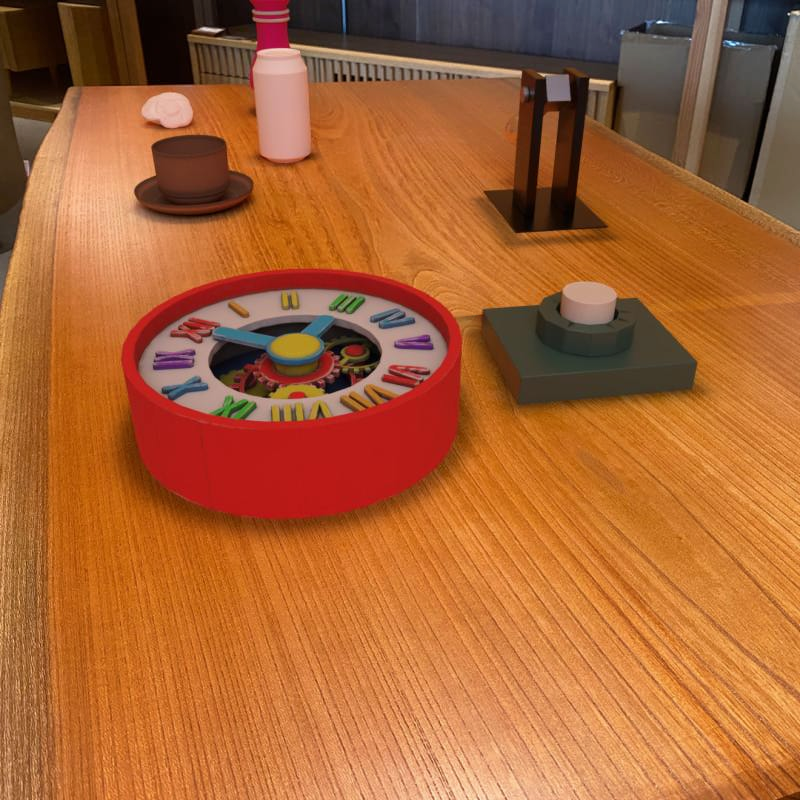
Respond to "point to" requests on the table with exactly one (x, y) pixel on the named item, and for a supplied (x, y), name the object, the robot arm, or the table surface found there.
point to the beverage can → (282, 105)
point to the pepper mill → (270, 26)
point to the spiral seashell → (168, 110)
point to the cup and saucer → (192, 177)
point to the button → (588, 303)
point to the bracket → (559, 202)
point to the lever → (554, 102)
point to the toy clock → (294, 391)
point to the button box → (584, 353)
